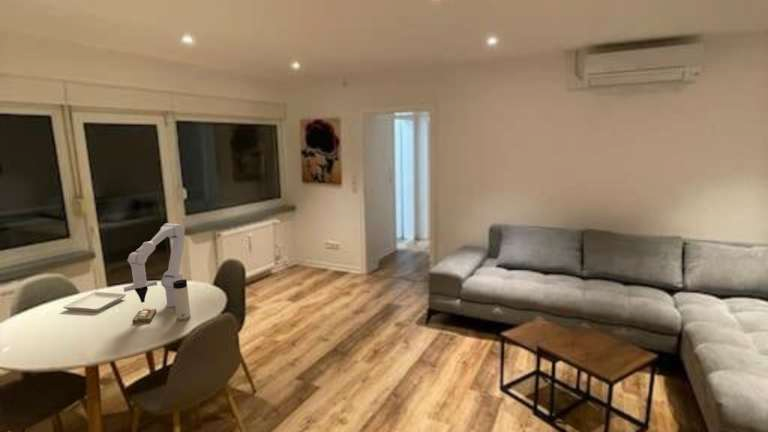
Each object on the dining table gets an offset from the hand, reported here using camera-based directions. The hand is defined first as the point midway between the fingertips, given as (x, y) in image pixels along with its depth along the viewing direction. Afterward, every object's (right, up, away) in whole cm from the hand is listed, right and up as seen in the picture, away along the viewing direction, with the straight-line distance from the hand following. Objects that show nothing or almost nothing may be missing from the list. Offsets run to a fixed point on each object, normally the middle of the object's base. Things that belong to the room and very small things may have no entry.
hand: (142, 301), depth 215 cm
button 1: (+2, -8, -3) cm, 9 cm away
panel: (+1, -8, +1) cm, 9 cm away
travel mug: (+21, -9, 0) cm, 22 cm away
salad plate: (-36, -6, +19) cm, 41 cm away
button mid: (+1, -7, +1) cm, 7 cm away
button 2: (0, -7, +4) cm, 8 cm away
